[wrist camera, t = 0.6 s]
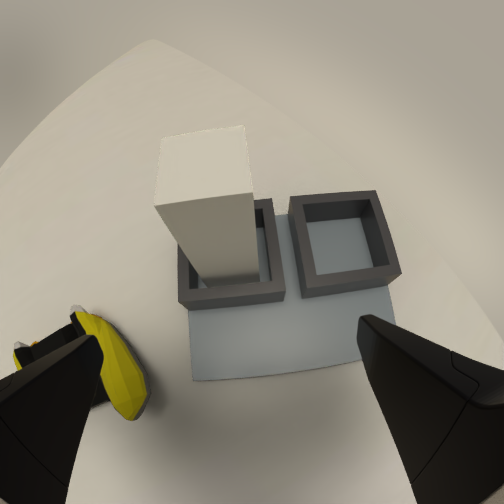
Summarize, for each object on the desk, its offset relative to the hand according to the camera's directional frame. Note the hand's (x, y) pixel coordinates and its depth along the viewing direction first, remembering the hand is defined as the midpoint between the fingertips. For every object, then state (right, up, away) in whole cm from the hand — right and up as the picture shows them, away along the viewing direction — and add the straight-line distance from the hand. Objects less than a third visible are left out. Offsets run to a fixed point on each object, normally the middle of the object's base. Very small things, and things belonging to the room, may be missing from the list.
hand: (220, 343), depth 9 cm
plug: (-1, +2, +14) cm, 14 cm away
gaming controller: (-14, -9, +12) cm, 20 cm away
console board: (+4, 0, +14) cm, 15 cm away
